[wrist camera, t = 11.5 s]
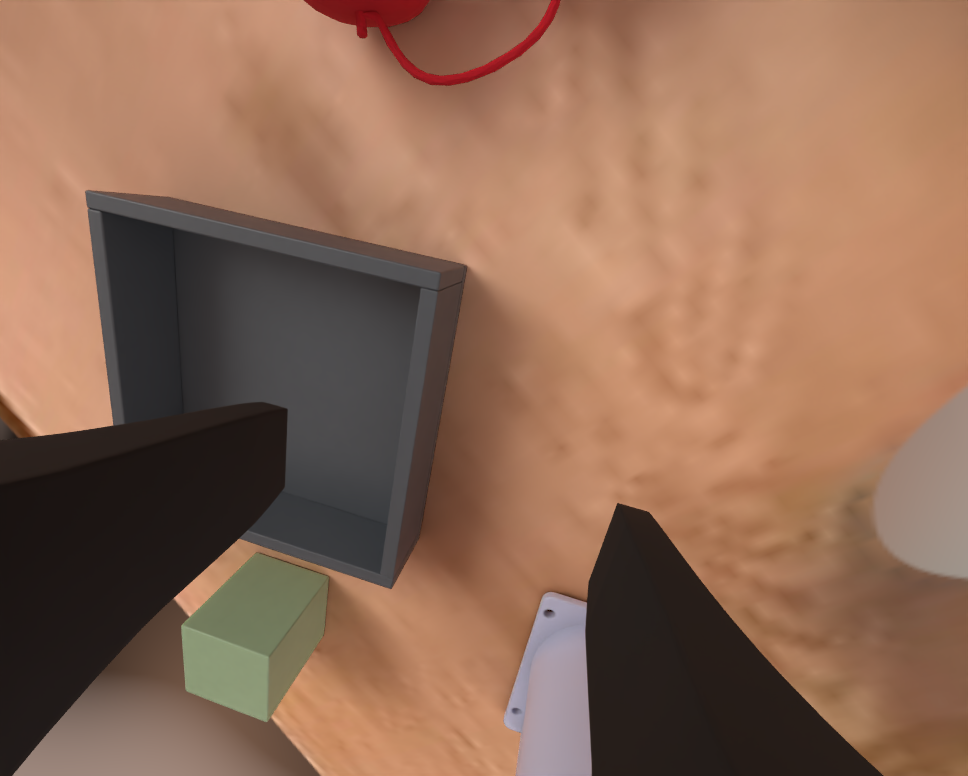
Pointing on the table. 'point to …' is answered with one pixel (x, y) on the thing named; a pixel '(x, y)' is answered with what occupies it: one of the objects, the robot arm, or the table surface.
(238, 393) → the tub
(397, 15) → the alarm clock
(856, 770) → the robot arm
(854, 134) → the table surface
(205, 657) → the block
